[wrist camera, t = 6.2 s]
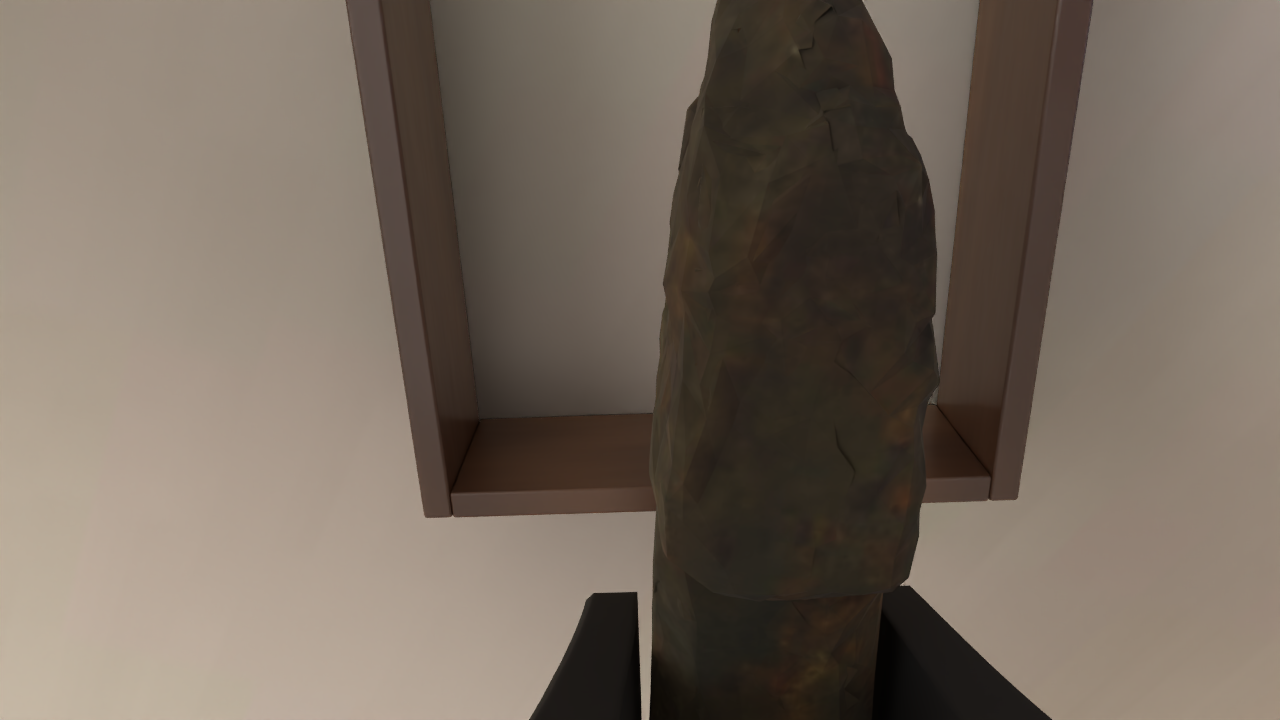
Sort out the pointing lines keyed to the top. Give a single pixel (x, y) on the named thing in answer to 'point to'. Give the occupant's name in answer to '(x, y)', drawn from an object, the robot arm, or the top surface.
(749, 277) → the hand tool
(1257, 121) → the top surface
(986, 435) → the storage box
